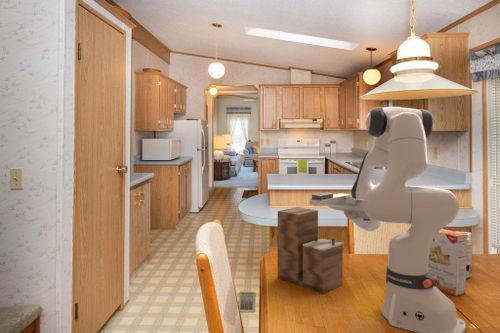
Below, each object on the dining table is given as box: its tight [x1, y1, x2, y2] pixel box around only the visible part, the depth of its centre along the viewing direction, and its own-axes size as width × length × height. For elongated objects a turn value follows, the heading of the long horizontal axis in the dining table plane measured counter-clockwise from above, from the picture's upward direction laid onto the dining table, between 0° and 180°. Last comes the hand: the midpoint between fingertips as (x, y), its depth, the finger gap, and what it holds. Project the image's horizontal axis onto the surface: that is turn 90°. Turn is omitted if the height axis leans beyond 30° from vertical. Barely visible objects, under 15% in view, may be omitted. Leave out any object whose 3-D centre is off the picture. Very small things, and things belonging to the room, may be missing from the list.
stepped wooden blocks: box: [277, 206, 344, 294], centre depth 140 cm, size 21×12×26 cm, turn 44°
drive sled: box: [309, 192, 351, 207], centre depth 137 cm, size 4×20×4 cm, turn 135°
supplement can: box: [466, 237, 473, 280], centre depth 145 cm, size 8×8×15 cm
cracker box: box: [428, 228, 468, 297], centre depth 133 cm, size 14×6×21 cm, turn 27°
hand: (339, 196), depth 142 cm, fingers closed on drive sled, 4 cm apart
